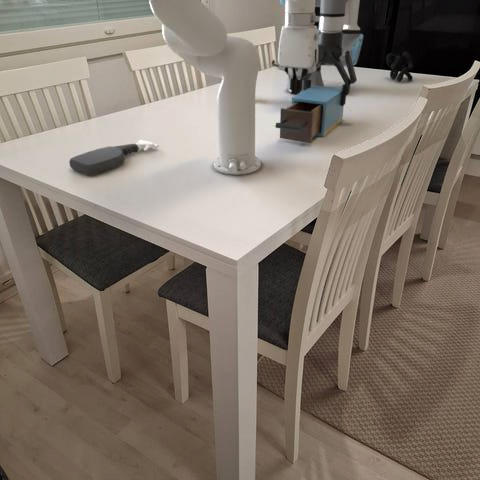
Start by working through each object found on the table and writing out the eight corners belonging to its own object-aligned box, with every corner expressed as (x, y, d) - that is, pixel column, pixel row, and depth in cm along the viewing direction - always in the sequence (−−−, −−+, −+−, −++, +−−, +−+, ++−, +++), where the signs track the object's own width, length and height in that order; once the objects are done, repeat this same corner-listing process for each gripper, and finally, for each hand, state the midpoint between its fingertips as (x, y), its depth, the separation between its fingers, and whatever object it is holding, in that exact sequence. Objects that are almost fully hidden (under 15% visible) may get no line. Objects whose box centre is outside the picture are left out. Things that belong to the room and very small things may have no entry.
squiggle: (400, 92, 202) (376, 71, 205) (417, 76, 202) (392, 56, 205) (405, 81, 191) (380, 59, 194) (423, 64, 191) (397, 42, 194)
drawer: (302, 149, 127) (304, 119, 122) (270, 144, 131) (271, 114, 126) (330, 126, 144) (332, 98, 139) (301, 122, 148) (303, 95, 143)
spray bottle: (67, 168, 120) (139, 144, 136) (91, 178, 114) (163, 151, 130) (65, 157, 118) (137, 134, 134) (89, 167, 112) (162, 142, 128)
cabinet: (323, 136, 138) (326, 102, 133) (290, 131, 143) (291, 98, 137) (342, 120, 152) (345, 88, 146) (311, 116, 157) (313, 85, 151)
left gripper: (332, 19, 114) (325, 92, 124) (278, 17, 121) (277, 87, 130) (321, 23, 109) (316, 99, 119) (266, 20, 115) (265, 93, 125)
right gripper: (372, 31, 135) (363, 104, 146) (299, 28, 145) (295, 96, 156) (366, 35, 129) (357, 109, 141) (290, 31, 139) (287, 101, 151)
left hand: (295, 93), depth 124 cm, fingers closed
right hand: (324, 102), depth 149 cm, fingers open, 12 cm apart
